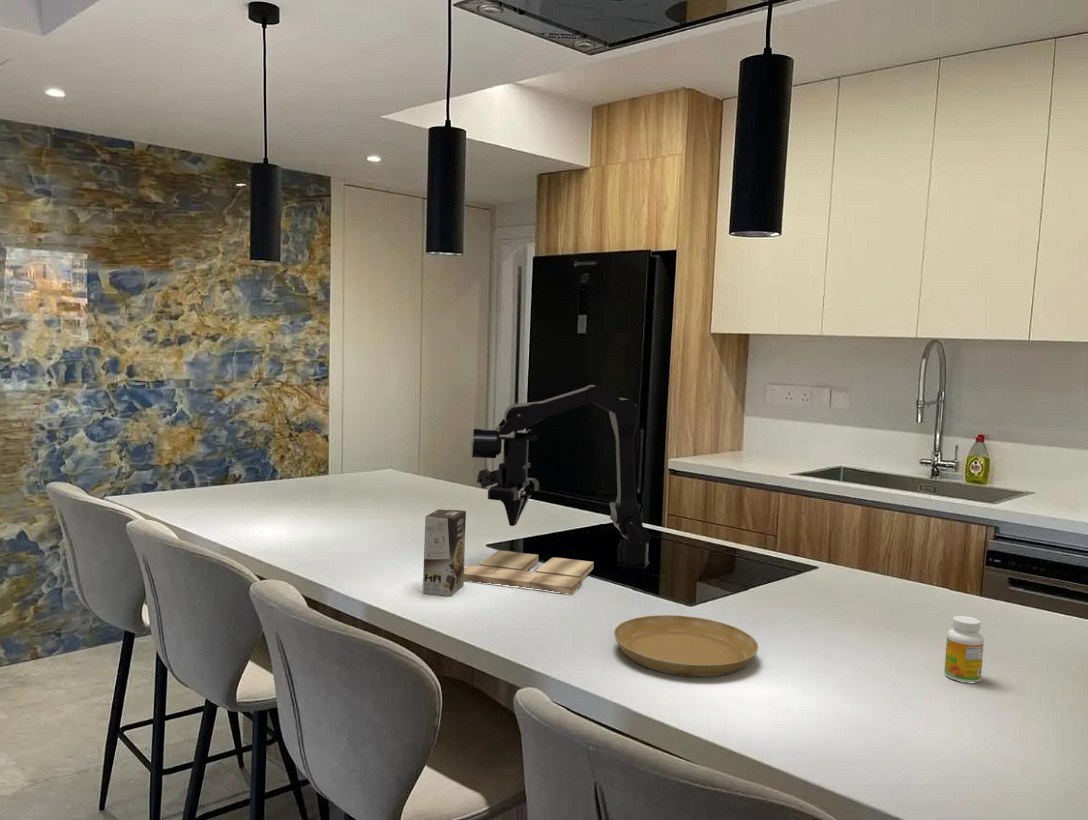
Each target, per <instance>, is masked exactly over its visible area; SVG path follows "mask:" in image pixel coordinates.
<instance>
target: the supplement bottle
mask: <svg viewBox="0 0 1088 820" xmlns="http://www.w3.org/2000/svg"><path fill="white" fill-rule="evenodd" d="M952 627H953V628H951V629H949V630H948V632H947V634H946V646H945V647H946V648H945V659H944V670H943V671H944V672H943V673H944V675H945V677H947V676H948V677H950V678H952V679H955V680H959V681H964V682H977V683H979V682H980V681H981V680H982V670H983V669H982V667H983V659H984V644H985V643H984V641H985V640H984V637H983V635H982V634H981V633H979V632H980V629H981V621H980V620H979V619H977V618H975V617H970V616H964V615H956V616H953V618H952ZM948 677H947V678H948ZM950 678H949V679H950ZM952 679H951V680H952ZM978 681H979V682H978Z"/></svg>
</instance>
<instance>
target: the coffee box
mask: <svg viewBox="0 0 1088 820" xmlns="http://www.w3.org/2000/svg"><path fill="white" fill-rule="evenodd" d="M466 518H467V510H459V509H437V510H435V511H433V512H431V513H429V514H427V515H425V517H424V519H425V522H424V523H425V525H424V544H423V546H424V548H423V550H424V552H423V575H422V594H426V595H427V594H429V595H436V596H437V595H438V596H446V597H452V596H453V595H454V594H455V593H456V592H457V591H458V590H459V589H460V588H462V587H463V586H464V585H465V581H464V568H465V555H466V554H465V549H466V521H467V519H466Z"/></svg>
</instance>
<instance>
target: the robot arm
mask: <svg viewBox="0 0 1088 820" xmlns="http://www.w3.org/2000/svg"><path fill="white" fill-rule="evenodd" d="M589 404H594V405H596V406H598V408H599V407H600V408H601V409H603V410H604V411H607V412H608V413H609V419H610V423H611V426H612V430H613V434H614V436H615V455H616V457H615V458H616V459H615V460H616V483H617V484H616V486H617V487H616V488H617V496H616V498H615V499H616V500H615V502H612V501H611V502H609V507H610V516H609V519H610V520H611V521H612V523H613V526H614V527H615V528H617V529H618V531H619V532H620V536H622V538H620V541H619V544H618V546H617V559H616V560H617V567H621V568H622V567H623V568H633V569H638V570H639V569H640V570H645V569H646V568H647V567H648V565H649V564H650V561H649V543H650V541H651V538H652V534H651V533H650V532H649V531H648V529H646V528H645V526H643V518H642V514H641V509H640V505H639V503H638V499H637V496H636V471H635V470H636V468H635V441H634V438H635V434H636V431H637V428H638V421H639V416H640V409H639V406H638V404H637V403H636V402H634V401H633V400H632V399H629V398H624V397H617V396H615V395H613V394H611V393H609V392H607V391H605V390H603V389H602V388H600V387H599V386H597V385H594V384H588V385H587V386H584V387H582V388H579V389H575V390H572V391H570V392H566V393H562V394H560V395H557V396H553V397H551V398H547V399H544V400H539V401H533V402H532V401H531V402H530V401H529V402H522V403H521V402H520V403H514V404H511V405H509V406H507V407H506V409H505V411H504V413H503V419H502V420H501V421H500V422H499V424H498V425H497V426H496V427H495V428H494V429H488V428H487V429H486V428H485V429H483V428H478V427H474V428H473V429H472V430H473V431H472V440H471V444H470V455H471V459H497V456H499V455H501V454H503V455H502V456H503V457H502V462H500V463H499V464H498V468H497V469H495V470H491V471H490V470H489V468H485V469H482V470H479V471H478V474H477V476H476V477H477V479H476V482H477V483H478V484H480V486H481V489H484V488H488V487H489V486H491V487H490V488H489V489H488V490H487V500H493V501H500V502H501V503H502V504H503V505H504V510H505V512H506V517H507V520H508V524H509V526H510V527H515V526H516V525H517V524H518V522H519V520H520V517H521V515H522V513H523V512H524V509H525V508H526V505H527V503H528V502H529V499H530V498H531V496H532V494H531V493H530V494H529V493H526V490H532V491H533V492H538V491H540V482H539V480H538V479H537V478H534V477H528V469H529V468H531V462H529V459H528V458H529V441H537V440H538V437H537V436H536V435H535V434H534V433H533V431H532V430H531V429H530V428H529V427H532V426H533V425H535V424H537V423H538V422H540V421H542V420H544V419H545V418H548V417H550V416H554V415H557V414H561V413H564V412H567V411H570V410H574V409H576V408H579V407H583V406H586V405H589ZM528 428H529V429H528ZM526 429H527V431H526V432H524V430H526ZM521 431H523V432H521ZM512 433H513V434H512ZM510 434H512V435H510ZM502 440H503V453H502ZM495 484H496V485H495ZM492 485H493V486H492Z"/></svg>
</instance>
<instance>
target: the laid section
mask: <svg viewBox="0 0 1088 820" xmlns="http://www.w3.org/2000/svg"><path fill="white" fill-rule="evenodd" d="M467 581H472V582H471V583H474V582H481V583H480V584H482V583H491V584H501V585H509V586H519V587H526V588H533V589H541V590H548V591H554V592H560V593H568V594H572V593H573V592H574V591H575V590H576V589H577V590H578V589H579V587H580V586H581V585H582V586H583V580H582V578H577V577H568V576H560V575H552V574H544V573H536V571H529V570H527V571H520V570H512V569H503V568H495V567H487V566H480V564H479V565H478V564H477V565H476V564H470V565H468V566H466V567H464V582H467ZM580 588H581V587H580ZM577 590H576V591H577ZM576 591H575V592H576ZM575 592H574V593H575ZM574 593H573V594H574ZM573 594H572V595H573Z"/></svg>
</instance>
